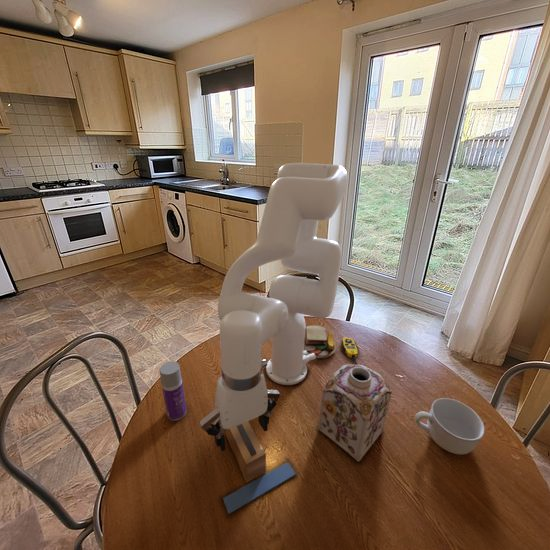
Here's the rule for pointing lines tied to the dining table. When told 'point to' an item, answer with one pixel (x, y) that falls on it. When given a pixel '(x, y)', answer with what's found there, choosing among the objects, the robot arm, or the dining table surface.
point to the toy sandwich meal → (318, 342)
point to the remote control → (350, 348)
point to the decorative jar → (354, 408)
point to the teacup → (452, 425)
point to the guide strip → (258, 487)
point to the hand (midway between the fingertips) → (242, 435)
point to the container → (173, 390)
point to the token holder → (247, 450)
